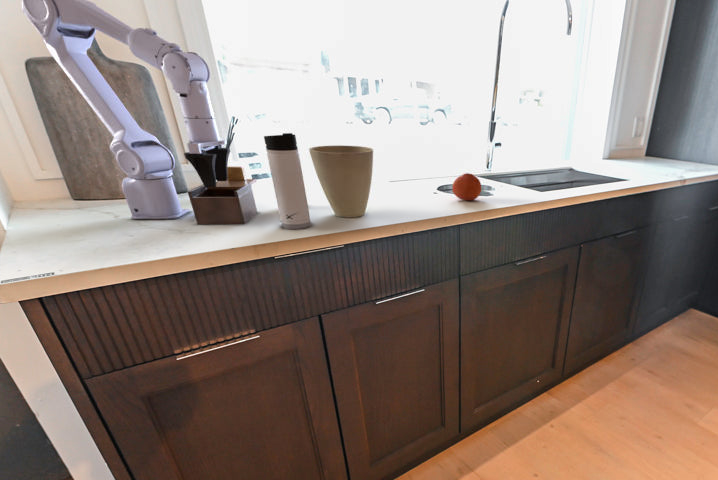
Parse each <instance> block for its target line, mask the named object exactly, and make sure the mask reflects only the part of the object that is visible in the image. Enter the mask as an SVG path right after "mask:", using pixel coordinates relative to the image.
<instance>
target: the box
mask: <svg viewBox="0 0 718 480" xmlns="http://www.w3.org/2000/svg"><path fill="white" fill-rule="evenodd" d="M187 195H188V198H189V201H190V205H191V208H192V212H193V215H194V218H195V221H196V224H197V225H236V224H237V225H241V224H242V225H244V224H246V223H247V222H249V221H250V220H251V219H252V218H253V217H254V216H256V215H257V213H258V209H257V204H256V201H255V196H254V192H253V188H252V185H251V183H247V184H246V185H244V186H243V187H241V188H239V189H207V188H206V187H205V186H204V184H203V183H202V184H200V185H198V186H196V187H194V188H192V189H190V190H187Z"/></svg>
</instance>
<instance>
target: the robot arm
mask: <svg viewBox="0 0 718 480" xmlns="http://www.w3.org/2000/svg"><path fill="white" fill-rule="evenodd" d="M21 11H22V13H23V14H24V15H25V17H26V18H27V19H28V21H29V22H30V23H31V25H32V26H33V28H35V30H36V31H37V32H38V34H39V36H41V38H42V40H43V43H44V44H45V47H46V48H47V50H48V52H49V53H50V55H51V57H52V58H53V59H54V61H55V62H56V63H57V64H58V66H59V67H60V69H62V71H63V72H64V73H65V75H66V76H67V77H68V79H69V80H70V81H71V83H72V84H73V85H74V87H75V88H76V89H77V91H78V92H79V94H81V96H82V97H83V98H84V100H85V101H86V102H87V104H88V106H90V108H91V109H92V111H93V112H94V113H95V114H96V116H97V117H98V118H99V120H100V121H101V122H102V123H103V125H104V127H106V130H108V131H109V133H110V135H111V136H112V137H113V138H112V141H111V143H110V145H109V150H110V151H111V152H112V154H113V155H114V157H115V159H116V162H117V164H118V167H119V168H120V169H121V170H122V172H123V173H124V174H125V175H127V176H128V177H124V178H123V180H122V182H121V188H122V193H123V195H124V199H125V201H126V203H127V206H128V208H129V212H130V215H131V216H130V219H131V220H151V219H152V220H158V219H159V220H160V219H162V220H165V219H166V220H167V219H168V220H169V219H170V220H171V219H178V218H180V217H182V216H184V215H185V214H188V213H189V212H190V209H189V208H183V207H182V206H181V203H180V199H179V196H178V193H177V190H176V186H175V183H174V180H173V177H172V176H174V173H173V171H174V170H175V167H176V159H175V157H174V155H173V153H172V152H171V150H169V148H168V147H166V146H165V145H163V144H162V143H161V142H160V141H159V139H158V138H157V137H156V136H155V135H153V134H152V133H150V132H148V131H146V130H144V129H142V128H141V127H140V125H139V124H138V123H137V121H136V120H135V119H134V118H133V116H132V114H131V113H130V111H128V109H127V108H126V106H125V105H124V104H123V102H122V101H121V99H120V98H119V97H118V95H117V93H116V92H114V89H112V87H111V86H110V85H109V83H108V82H107V80H106V79H105V78H104V76H103V75H102V73H101V72H100V70H99V69H98V68H97V66H96V65H95V64H94V62H93V61H92V60H91V58H90V57H89V55H88V53H87V52H88V50H89V49H90V48H92V47H91V46H92V44H93V41H94V38H95V37H96V33H97V32H98V31H99V32H100V33H102V34H104V35H107V36H108V37H110V38H112V39H113V40H114V39H115V40H117V41H118V42H120V43H123V44H124V45H126V46H128V49H129V50H130V52H131V54H132V55H133V56H134V57H136V58H138V59H139V60H141V61H143V62H145V63H146V64H148V65H150V66H152V67H153V68H155V69H157V70H159V71H161V72H162V73H163V74H164V76H165V77H166V78H167V79H168V80H169V82H170V83H171V86H172V89H173V90H174V92H175V93H176V97H177V101H178V104H179V107H180V111H181V114H182V118H183V121H184V126H185V129H186V132H187V133H186V134H187V136H188V142H187V143H186V145H187V149H188V151H186V152H184V153H183V156H184V158H185V159H186V160H187V161H188V162H189V163H190V164H191V166H193V169H194V170H195V171H196V173H197V175H198V177H199V178H200V181H201V182H202V184H204V186H205V187H216V182H217V181H227V179H228V172H227V167H228V161H229V157H230V153H231V149H230V147H224V145H227V143H228V141H227V140H226V139H225V140H223V139H222V137H220V134H219V130H218V126H217V122H216V118H215V113H214V110H213V106H212V102H211V98H210V93H209V90H208V85H207V83H208V82H209V80H210V76H211V73H210V69H209V66H208V63H207V62H206V61H205V59H204V58H203V57H201V56H200V55H199V54H198V53H197V52H194V51H187V52H186V51H183V50H182V49H181V46H180V45H178V44H176V43H174V42H169V41H167V40H165V39H164V38H163V37H160V36H159V35H158V32H157V30H154V29H152V28H147V27H145V28H143V27H137V28H133V27H131V26H130V25H128V24H127V23H126V22H125V23H124V22H123V21H121V20H120V19H119V18H117V17H116V16H114V15H111V14H110V13H108V12H107V11H105V10H104V9H102V8H101V7H99V6H97V4H96V3H95V2H92V1H90V0H21Z"/></svg>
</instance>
